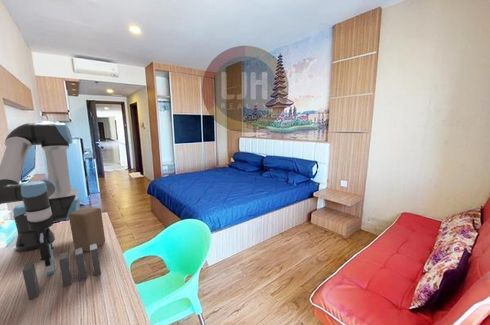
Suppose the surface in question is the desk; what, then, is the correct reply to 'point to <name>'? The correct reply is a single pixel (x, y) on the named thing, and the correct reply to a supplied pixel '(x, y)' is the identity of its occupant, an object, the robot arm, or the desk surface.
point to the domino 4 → (80, 264)
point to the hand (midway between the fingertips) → (50, 267)
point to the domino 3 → (65, 269)
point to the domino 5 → (95, 259)
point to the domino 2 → (52, 261)
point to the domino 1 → (31, 280)
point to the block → (87, 228)
